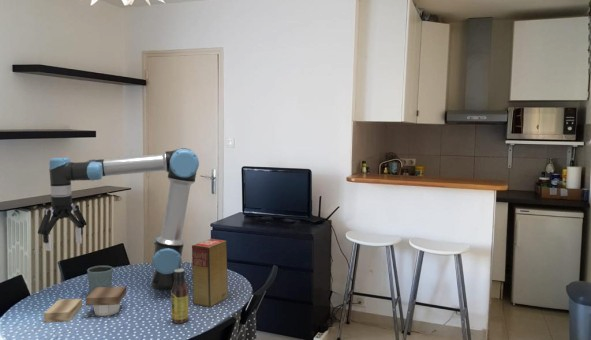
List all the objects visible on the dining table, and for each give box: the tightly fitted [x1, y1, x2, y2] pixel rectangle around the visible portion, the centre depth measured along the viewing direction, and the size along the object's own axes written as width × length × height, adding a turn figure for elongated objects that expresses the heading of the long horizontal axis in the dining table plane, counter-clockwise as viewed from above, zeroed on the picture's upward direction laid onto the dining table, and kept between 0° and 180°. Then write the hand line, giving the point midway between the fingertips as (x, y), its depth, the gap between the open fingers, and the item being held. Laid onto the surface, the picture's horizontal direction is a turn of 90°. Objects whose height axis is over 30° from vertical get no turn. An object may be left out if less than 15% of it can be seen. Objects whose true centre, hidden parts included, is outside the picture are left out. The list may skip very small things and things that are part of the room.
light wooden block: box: [43, 298, 83, 323], centre depth 178 cm, size 9×14×4 cm, turn 7°
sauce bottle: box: [170, 268, 190, 324], centre depth 172 cm, size 6×6×20 cm
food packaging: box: [191, 238, 229, 308], centre depth 193 cm, size 13×9×25 cm
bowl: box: [93, 302, 121, 317], centre depth 181 cm, size 9×9×5 cm
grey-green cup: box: [86, 265, 114, 294], centre depth 199 cm, size 10×10×12 cm
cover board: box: [85, 286, 127, 307], centre depth 181 cm, size 12×12×3 cm
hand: (64, 246), depth 188 cm, fingers open, 13 cm apart
